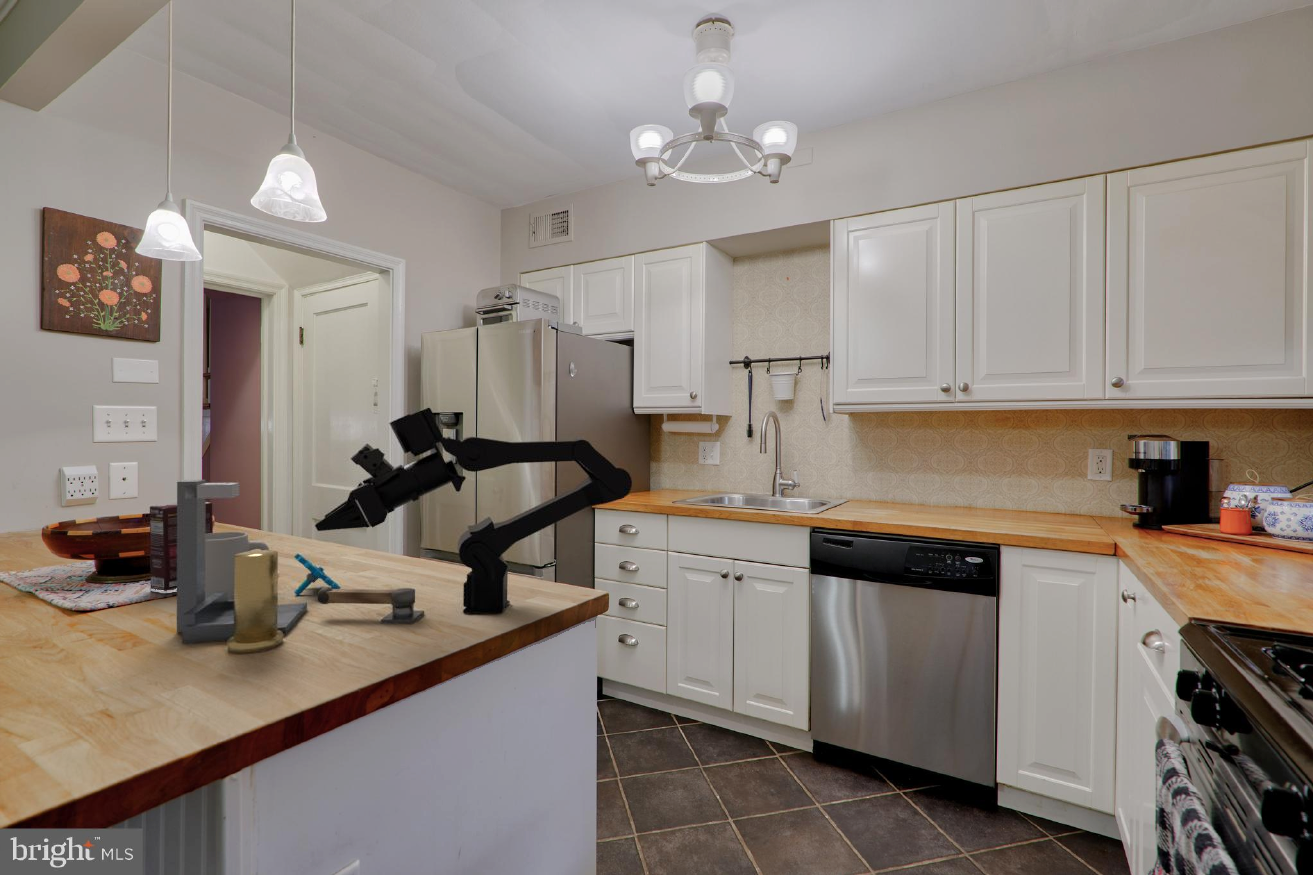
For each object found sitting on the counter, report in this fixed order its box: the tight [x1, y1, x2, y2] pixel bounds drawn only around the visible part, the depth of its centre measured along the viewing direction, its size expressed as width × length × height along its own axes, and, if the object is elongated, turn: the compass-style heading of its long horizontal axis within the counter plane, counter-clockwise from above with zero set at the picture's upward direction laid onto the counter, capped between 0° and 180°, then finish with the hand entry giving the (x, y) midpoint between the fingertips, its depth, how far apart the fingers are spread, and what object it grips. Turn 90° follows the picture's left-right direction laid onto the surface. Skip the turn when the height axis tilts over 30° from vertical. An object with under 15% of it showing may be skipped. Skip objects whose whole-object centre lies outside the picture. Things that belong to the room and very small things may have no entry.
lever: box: [316, 587, 416, 607], centre depth 101 cm, size 16×4×3 cm, turn 90°
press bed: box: [176, 479, 308, 644], centre depth 96 cm, size 16×14×22 cm
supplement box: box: [149, 501, 214, 591], centre depth 116 cm, size 9×5×16 cm, turn 157°
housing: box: [227, 549, 284, 655], centre depth 88 cm, size 7×7×13 cm
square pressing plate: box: [380, 603, 425, 625], centre depth 101 cm, size 5×5×2 cm
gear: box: [293, 553, 342, 596], centre depth 115 cm, size 11×6×10 cm
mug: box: [205, 531, 270, 600], centre depth 113 cm, size 12×8×11 cm
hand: (321, 523), depth 98 cm, fingers open, 9 cm apart
